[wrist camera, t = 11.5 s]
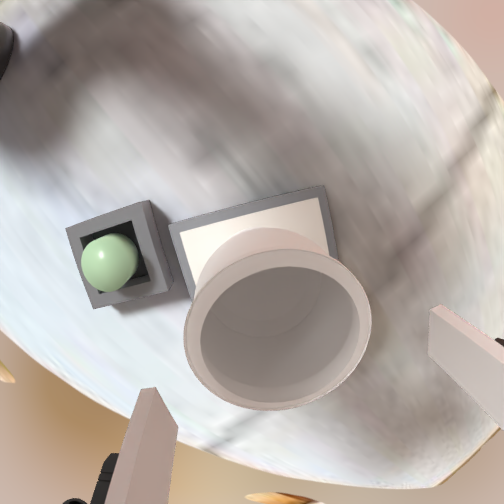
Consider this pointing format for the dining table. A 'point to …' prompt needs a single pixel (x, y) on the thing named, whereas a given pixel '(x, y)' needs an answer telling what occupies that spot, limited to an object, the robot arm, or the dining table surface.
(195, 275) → the board
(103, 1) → the dining table surface
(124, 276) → the button
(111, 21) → the dining table surface
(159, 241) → the button housing
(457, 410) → the dining table surface
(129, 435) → the robot arm
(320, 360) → the jar
